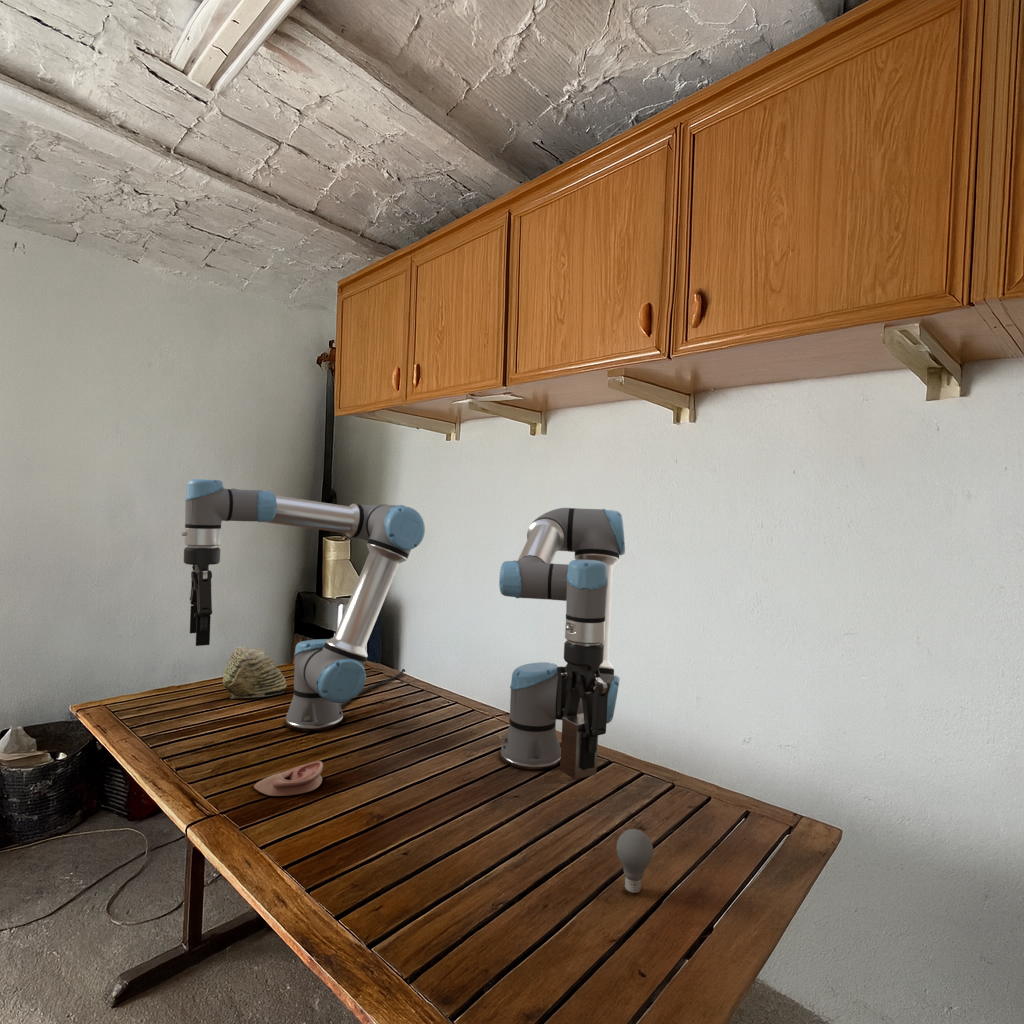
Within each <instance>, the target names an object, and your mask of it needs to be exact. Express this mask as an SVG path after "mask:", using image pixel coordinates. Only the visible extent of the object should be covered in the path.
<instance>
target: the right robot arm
mask: <svg viewBox="0 0 1024 1024" xmlns="http://www.w3.org/2000/svg"><path fill="white" fill-rule="evenodd" d="M557 552H569V553H572V552H573V553H574V559H572V560H571V561H569V562H568V564H567V563H565V564H564V563H553V562H554V559H555V556H556V553H557ZM625 553H626V542H625V529H624V521H623V515H622V513H621V512H619V510H613V509H605V508H602V509H601V508H576V507H559V508H555V509H552V510H549V511H547V512H545V513H543V514H541V515H539V516H538V517H537V518H535V519H534V520H533V521H532V523H531V524H530V525H529V527H528V529H527V532H526V542H525V544H524V546H523V548H522V550H521V553H520V555H519V557H518V558H517V560H514V559H513V560H505V561H504V562H502V563H501V566H500V570H499V578H498V579H499V580H498V581H499V585H498V586H499V592H500V594H501V595H502V596H504V597H508V598H509V597H510V598H515V599H533V600H549V601H550V600H551V601H563V602H566V607H565V609H566V610H565V625H564V627H565V628H564V639H565V642H564V643H563V660H564V662H566V665H561V666H558V664H556V663H553V662H545V661H544V662H543V661H542V662H541V661H538V662H531V663H530V662H529V663H526V664H522V665H520V666H519V665H518V666H517V667H516V668H514V670H513V671H512V673H511V682H510V686H509V689H510V702H509V725H508V728H507V731H506V733H505V736H504V738H503V741H502V745H501V749H500V758H501V760H502V762H504V763H505V764H507V765H508V766H511V767H513V768H517V769H521V770H529V771H540V770H549V769H552V768H554V767H555V768H556V766H558V765H559V764H560V762H561V742H560V740H559V735H558V733H557V728H556V726H557V720H558V721H562V717H566V716H571V715H576V714H582V713H583V714H584V724H585V733H582V750H581V769H582V770H586V769H590V768H594V765H595V752H596V750H597V736H598V737H599V736H602V735H605V734H607V725H608V724H610V723H611V722H613V719H614V714H615V709H616V704H617V698H618V692H619V685H620V679H621V678H620V677H619V676H618V675H617V674H615V667H614V666H613V665H612V663H610V660H609V659H610V657H609V656H610V639H611V638H610V637H611V636H610V635H611V617H612V615H611V614H612V596H613V595H612V594H613V575H614V573H613V572H614V567H615V566H616V565H617V564H618V563H620V556H623V555H625ZM591 728H592V729H591ZM597 751H598V750H597Z"/></svg>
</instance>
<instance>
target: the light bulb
mask: <svg viewBox="0 0 1024 1024" xmlns="http://www.w3.org/2000/svg"><path fill="white" fill-rule="evenodd" d="M615 849H616V854H617V857H618V859H619V861H620V863H621V865H622V867H623V873H624V874H623V875H624V876H625V878H624V888H625V890H627V891H628V892H630V893H634V894H635V893H639V892H640V891H641V889H642V887H641V886H642V879H643V877H644V875H645V871H646V868H647V867H648V866H649V864H650V863H651V861H652V859H653V855H654V847H653V843H652V841H651V838H649V836H648V835H647V834H646V833H645V832H643V831H642V830H641V829H636V828H629V829H627V830H625V831H623V832H622V833H621V834H620V835H619V837H618V839H617V841H616V847H615Z"/></svg>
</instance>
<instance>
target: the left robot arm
mask: <svg viewBox="0 0 1024 1024" xmlns="http://www.w3.org/2000/svg"><path fill="white" fill-rule="evenodd" d="M184 500H185V504H184V505H185V507H184V508H185V510H184V531H182V532H181V536H182V537H184V545H185V546H186V547H184V548H183V563H184V564H185V565H190V566H192V567H191V569H192V571H190V579H191V581H190V582H191V583H190V584H191V585H190V595H189V596H190V597H189V601H190V602H189V603H190V614H189V634H195V646H196V647H203V646H210V643H211V619H212V617H211V616H212V614H213V604H212V603H213V600H212V578H213V572H212V570H210V569H209V566H211V565H218V564H220V563H221V548H220V547H219V546H221V545H222V521H223V522H258V523H266V524H274V525H280V526H281V525H282V526H288V527H290V526H291V527H297V528H304V529H311V530H320V531H327V532H334V533H342V534H345V536H346V537H348V538H354V539H359V540H362V541H363V540H364V541H366V542H367V543H366V547H367V550H368V552H369V553H368V555H367V557H366V560H365V563H364V565H363V567H362V569H361V572H360V574H359V577H358V579H357V581H356V584H355V586H354V589H353V591H352V593H351V596H350V597H349V600H348V603H347V605H346V608H345V610H344V613H343V614H342V617H341V620H340V621H339V624H338V627H337V629H336V631H335V634H334V636H333V637H330V638H323V639H322V638H320V639H307V640H303V641H299V642H297V644H296V645H295V650H294V653H293V654H294V655H293V656H294V672H293V673H294V674H293V695H292V696H293V697H292V699H291V702H290V704H289V708H288V711H287V713H286V715H285V726H286V728H287V729H289V730H291V731H294V732H295V731H296V732H301V733H316V732H325V731H329V730H332V729H335V728H337V727H339V726H340V725H342V723H343V722H344V713H343V709H342V707H344V706H346V705H347V704H348V703H350V702H351V701H352V700H354V699H355V698H357V697H358V696H360V695H362V694H363V693H366V692H367V691H370V690H371V689H374V688H376V687H378V686H381V685H383V684H385V683H388V682H390V681H393V680H395V679H397V678H398V677H400V676H402V675H403V674H404V673H406V669H405V668H402V669H401V671H400V673H397V674H396V675H394V676H392V677H389V678H387V679H385V680H382V681H380V682H377V683H376V684H373V685H370V686H369V687H366V688H364V686H365V685H366V681H367V674H366V670H365V664H366V662H367V659H368V656H369V655H368V652H367V650H366V646H367V644H368V641H369V639H370V636H371V634H372V632H373V630H374V626H375V624H376V622H377V620H378V617H379V614H380V612H381V609H382V607H383V605H384V602H385V599H386V597H387V595H388V593H389V590H390V587H391V585H392V582H393V581H394V578H395V575H396V573H397V571H398V568H399V566H400V564H401V563H403V562H406V561H408V558H409V555H410V553H411V551H412V550H413V549H415V548H417V547H419V545H421V543H422V541H423V540H424V538H425V534H426V525H425V521H424V519H423V517H422V515H421V514H420V512H418V511H417V510H416V509H414V508H412V507H410V506H406V505H403V504H359V503H351V504H350V505H342V504H335V503H330V502H329V503H328V502H324V501H323V502H322V501H317V500H316V501H315V500H309V499H303V498H296V497H290V496H283V495H277V494H275V493H274V492H273V491H270V490H263V489H238V488H224V485H223V481H222V480H220V479H204V478H203V479H201V478H191V479H189V480H188V481H187V484H186V492H185V498H184Z"/></svg>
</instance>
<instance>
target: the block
mask: <svg viewBox="0 0 1024 1024" xmlns="http://www.w3.org/2000/svg"><path fill="white" fill-rule="evenodd" d="M561 726H562V727H561V740H560V741H561V742H560V743H561V747H560V748H561V762H560V763H559V764H560V765H559V770H560V771H561V772H562V773H563V774H565V775H566V776H568V777H570V778H571V779H573V780H579V779H583V778H587V777H588V778H589V777H591V776H596V775H597V770H598V751H599V750H598V749H599V747H598V746H599V735H598V736H597V750H596V752H595V765H594V768H590V769H586V770H582V769H581V750H582V733H585V724H584V714H583V713H582V714H576V715H571V716H566V717H562V720H561ZM591 729H592V728H591Z"/></svg>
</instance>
